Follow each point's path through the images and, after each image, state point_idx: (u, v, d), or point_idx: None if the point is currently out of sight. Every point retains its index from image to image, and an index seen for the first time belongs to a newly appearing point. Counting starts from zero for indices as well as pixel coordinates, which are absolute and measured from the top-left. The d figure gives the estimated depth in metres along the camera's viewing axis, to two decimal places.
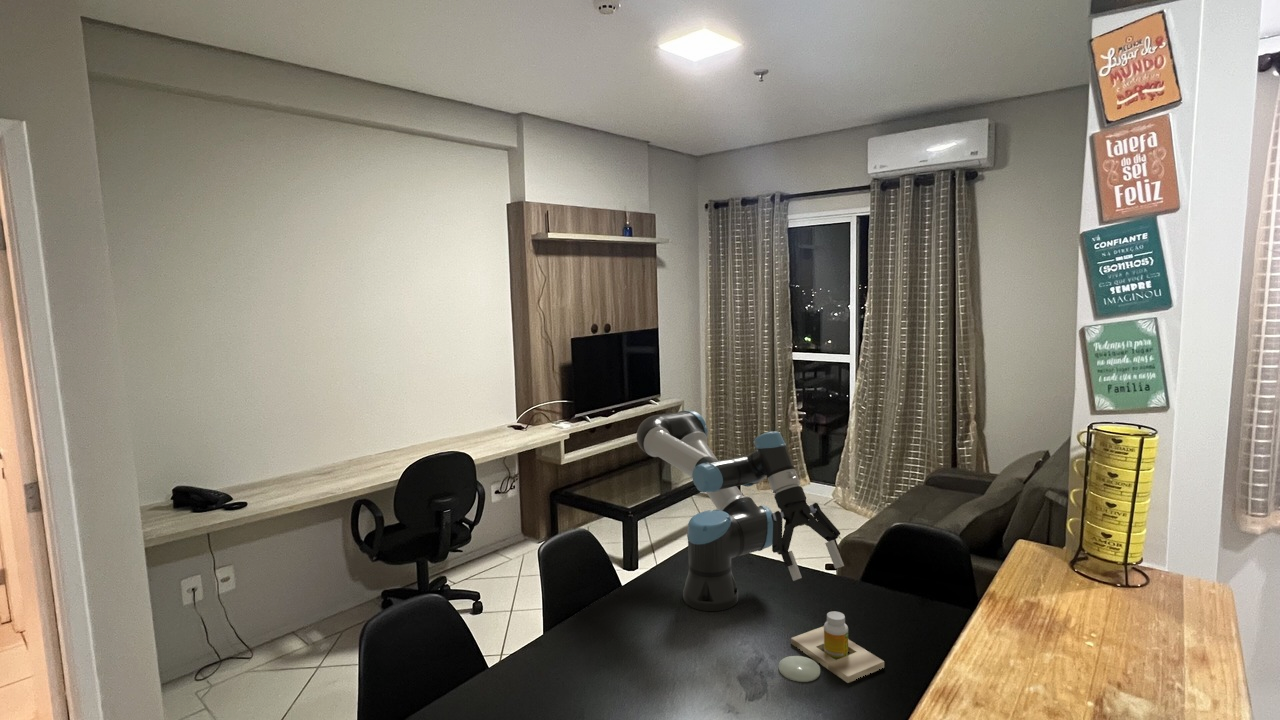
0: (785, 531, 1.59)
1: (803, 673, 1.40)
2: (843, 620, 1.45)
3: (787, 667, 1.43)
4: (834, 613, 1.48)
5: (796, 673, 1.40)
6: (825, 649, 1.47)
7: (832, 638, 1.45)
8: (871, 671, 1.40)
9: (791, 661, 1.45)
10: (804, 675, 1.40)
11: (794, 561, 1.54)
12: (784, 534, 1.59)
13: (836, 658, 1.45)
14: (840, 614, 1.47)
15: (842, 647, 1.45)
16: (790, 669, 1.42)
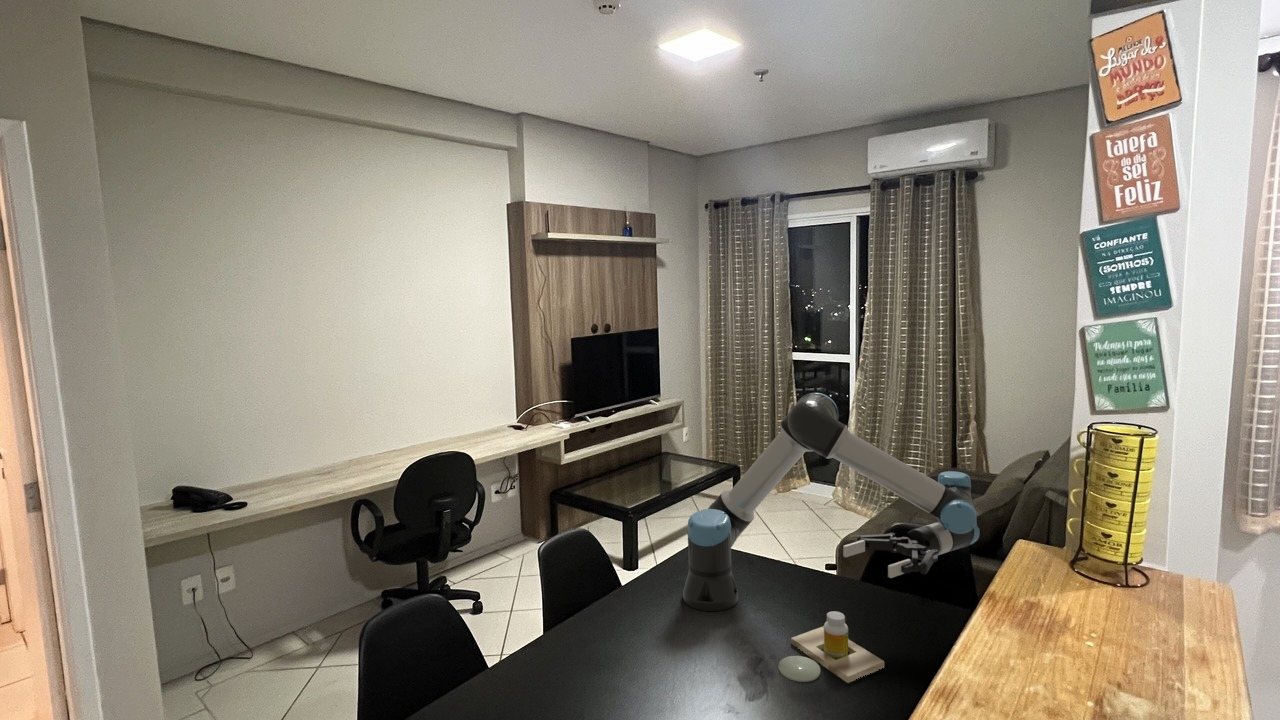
0: None
1: (803, 673, 1.40)
2: (843, 620, 1.45)
3: (787, 667, 1.43)
4: (834, 613, 1.48)
5: (796, 673, 1.40)
6: (825, 649, 1.47)
7: (832, 638, 1.45)
8: (871, 671, 1.40)
9: (791, 661, 1.45)
10: (804, 675, 1.40)
11: None
12: (917, 556, 1.50)
13: (836, 658, 1.45)
14: (840, 614, 1.47)
15: (842, 647, 1.45)
16: (790, 669, 1.42)
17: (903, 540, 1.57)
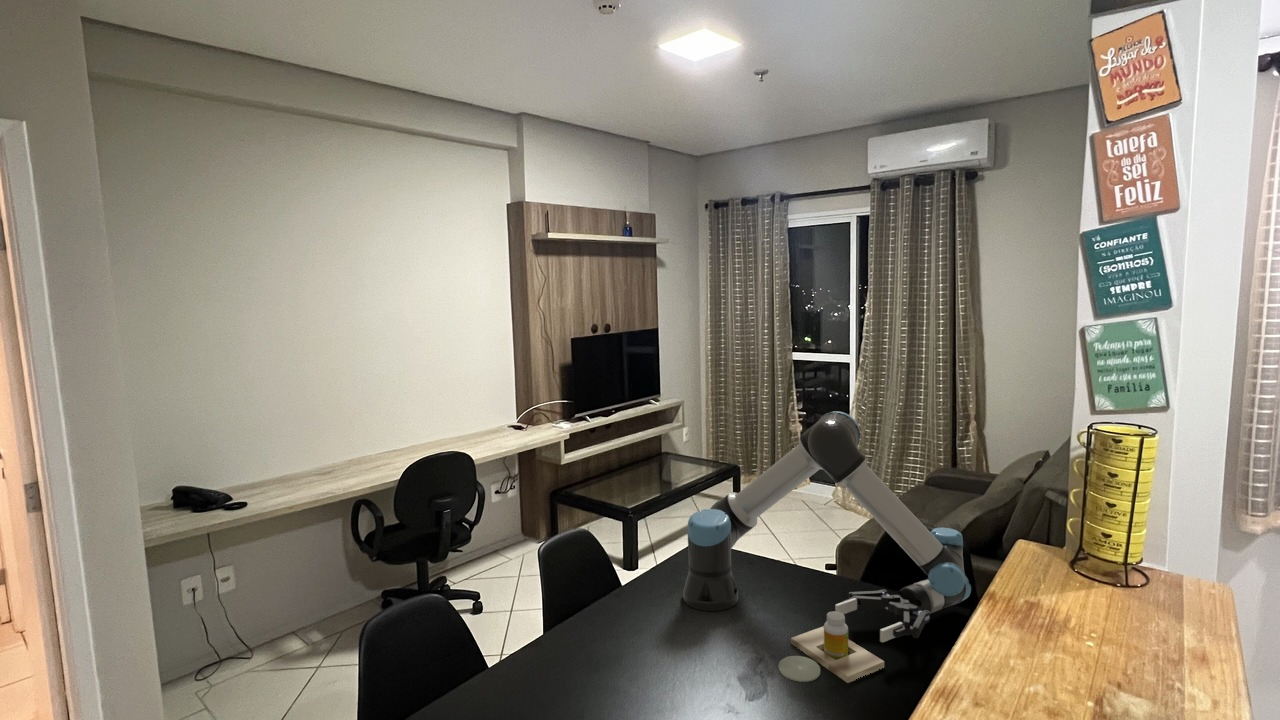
0: None
1: (803, 673, 1.40)
2: (843, 620, 1.45)
3: (787, 667, 1.43)
4: (834, 613, 1.48)
5: (796, 673, 1.40)
6: (825, 649, 1.47)
7: (832, 638, 1.45)
8: (871, 671, 1.40)
9: (791, 661, 1.45)
10: (804, 675, 1.40)
11: None
12: None
13: (836, 658, 1.45)
14: (840, 614, 1.47)
15: (842, 647, 1.45)
16: (790, 669, 1.42)
17: (895, 599, 1.57)
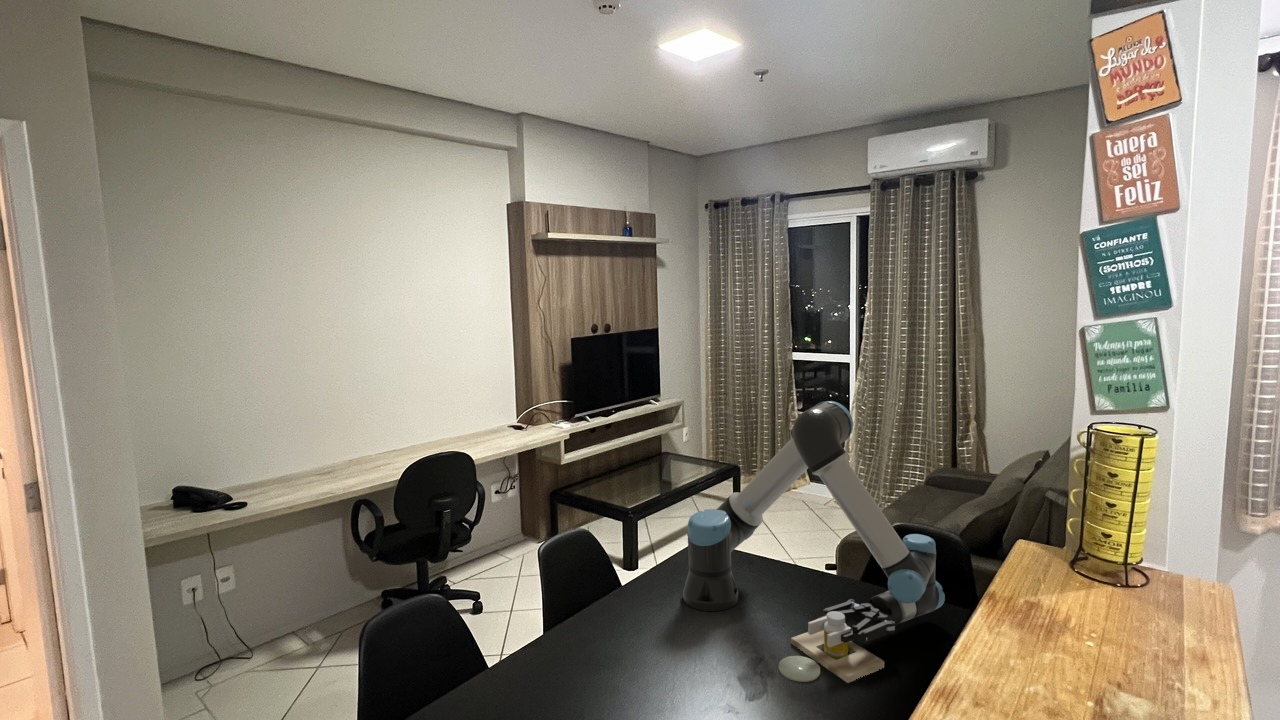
0: (868, 625, 1.47)
1: (803, 673, 1.40)
2: (843, 620, 1.45)
3: (787, 667, 1.43)
4: (834, 612, 1.48)
5: (796, 673, 1.40)
6: (825, 649, 1.47)
7: None
8: (871, 671, 1.40)
9: (791, 661, 1.45)
10: (804, 675, 1.40)
11: None
12: (866, 625, 1.47)
13: (836, 658, 1.45)
14: (840, 614, 1.47)
15: (842, 647, 1.45)
16: (790, 669, 1.42)
17: (867, 608, 1.53)
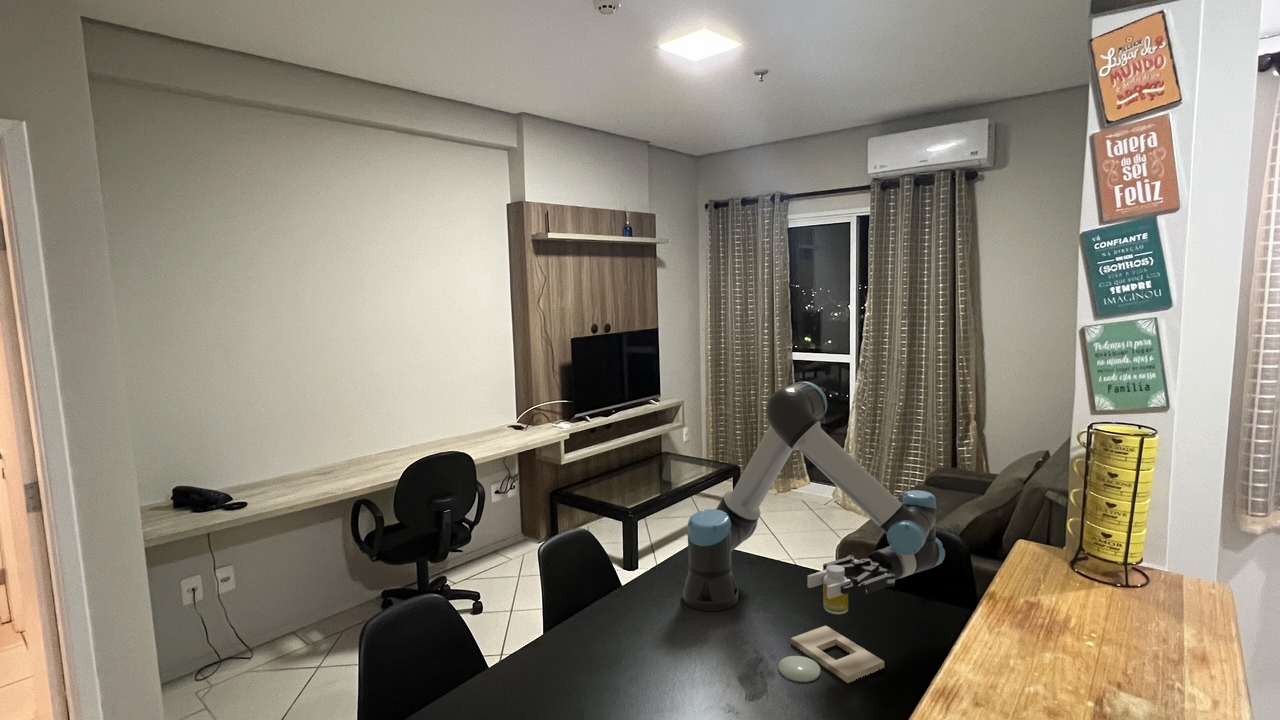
0: (868, 578, 1.46)
1: (803, 673, 1.40)
2: (843, 572, 1.44)
3: (787, 667, 1.43)
4: (833, 566, 1.46)
5: (796, 673, 1.40)
6: (825, 602, 1.46)
7: None
8: (871, 671, 1.40)
9: (791, 661, 1.45)
10: (804, 675, 1.40)
11: None
12: (866, 578, 1.45)
13: (836, 611, 1.44)
14: (840, 567, 1.46)
15: (842, 600, 1.43)
16: (790, 669, 1.42)
17: (866, 562, 1.51)
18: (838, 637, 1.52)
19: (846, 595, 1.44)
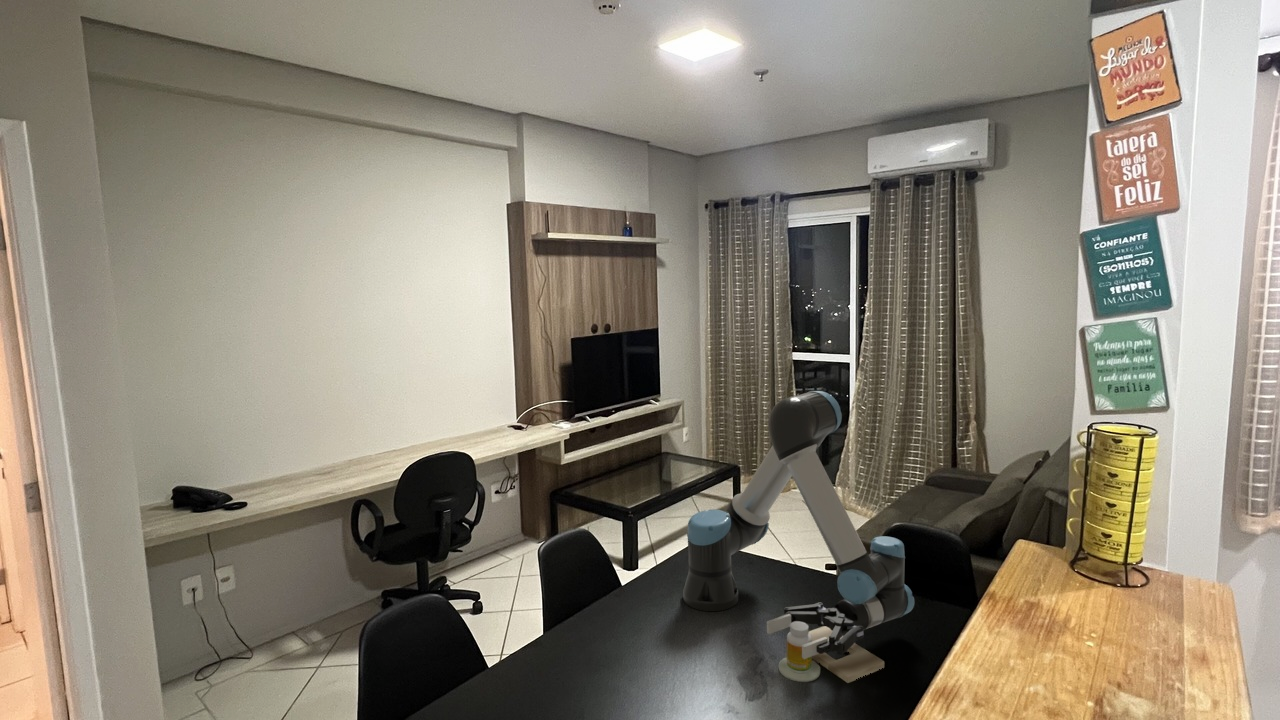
0: (839, 632, 1.41)
1: (803, 673, 1.40)
2: (806, 631, 1.40)
3: (787, 667, 1.43)
4: (798, 623, 1.43)
5: (796, 673, 1.40)
6: (788, 660, 1.42)
7: (795, 649, 1.40)
8: (871, 671, 1.40)
9: None
10: (804, 675, 1.40)
11: None
12: (838, 633, 1.41)
13: (798, 670, 1.40)
14: (804, 624, 1.42)
15: (805, 659, 1.40)
16: None
17: (831, 613, 1.48)
18: None
19: None
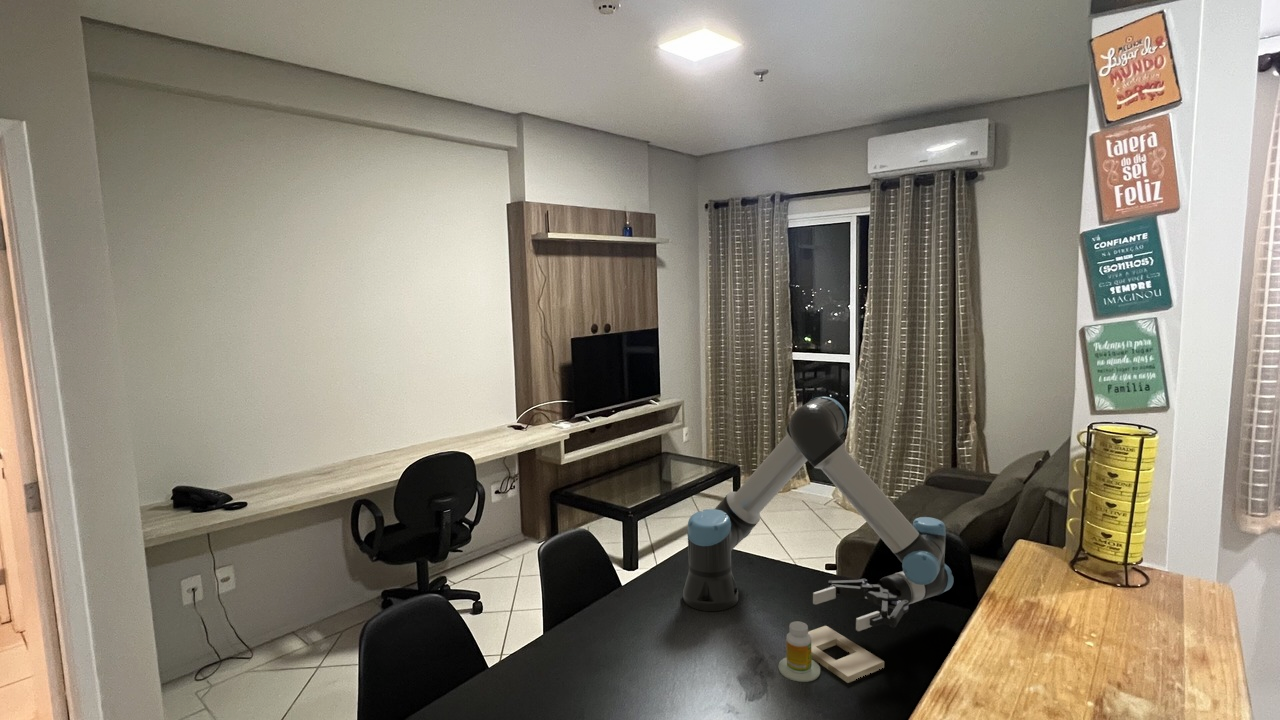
0: None
1: (803, 673, 1.40)
2: (806, 631, 1.40)
3: (787, 667, 1.43)
4: (797, 623, 1.43)
5: (796, 673, 1.40)
6: (788, 661, 1.42)
7: (795, 649, 1.40)
8: (871, 671, 1.40)
9: None
10: (804, 675, 1.40)
11: None
12: (887, 608, 1.47)
13: (799, 670, 1.40)
14: (803, 624, 1.42)
15: (804, 659, 1.40)
16: None
17: (874, 588, 1.54)
18: (838, 637, 1.52)
19: (809, 654, 1.40)
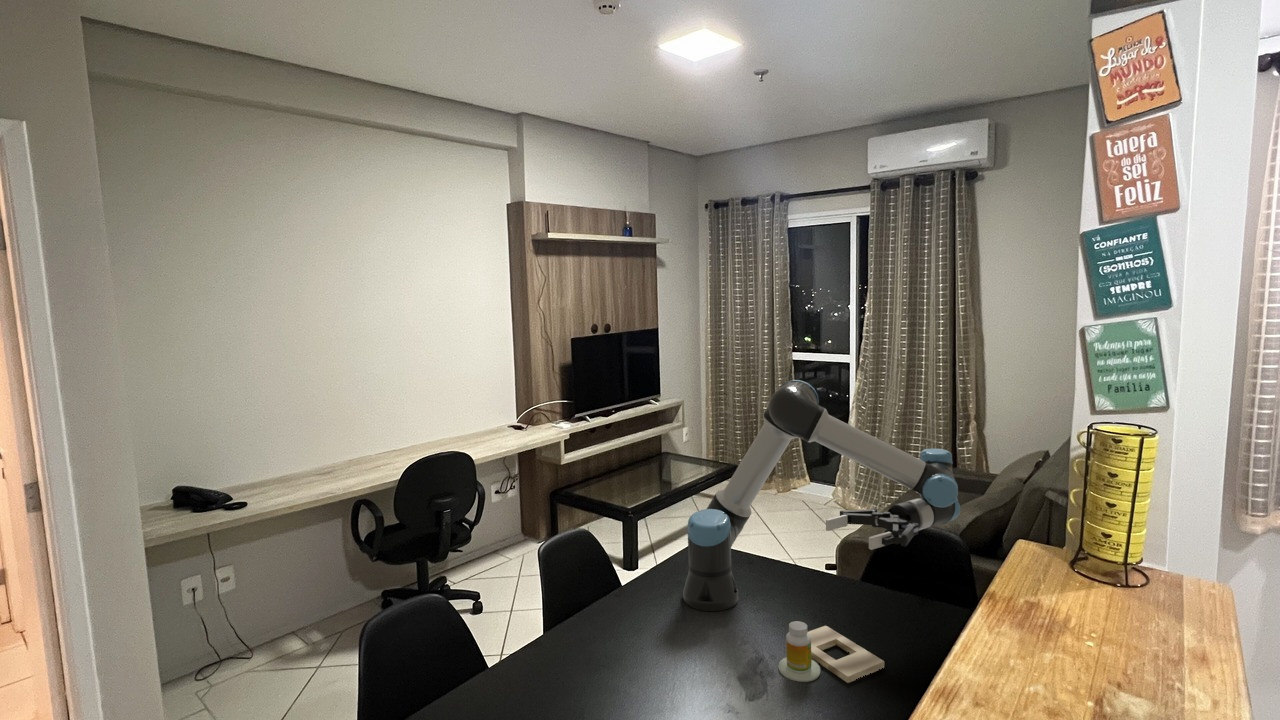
0: None
1: (803, 673, 1.40)
2: (805, 630, 1.40)
3: (787, 667, 1.43)
4: (796, 623, 1.43)
5: (796, 673, 1.40)
6: (788, 661, 1.42)
7: (794, 649, 1.40)
8: (871, 671, 1.40)
9: None
10: (804, 675, 1.40)
11: None
12: None
13: (799, 670, 1.40)
14: (802, 624, 1.42)
15: (804, 659, 1.40)
16: None
17: (885, 515, 1.59)
18: (838, 637, 1.52)
19: (809, 653, 1.40)
